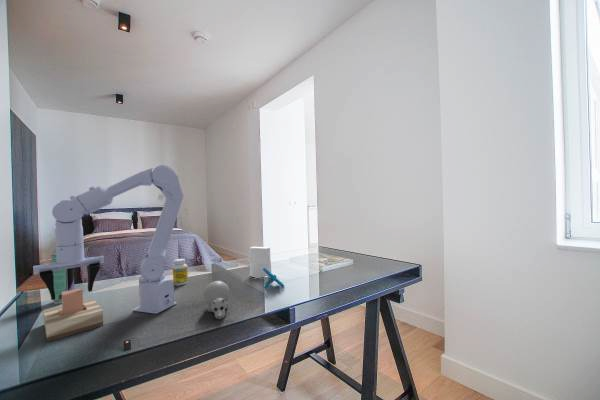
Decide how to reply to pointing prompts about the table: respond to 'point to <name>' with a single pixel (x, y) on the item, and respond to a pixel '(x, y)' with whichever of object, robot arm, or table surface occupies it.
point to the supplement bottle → (180, 272)
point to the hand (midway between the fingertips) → (72, 294)
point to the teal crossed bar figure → (271, 279)
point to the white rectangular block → (259, 261)
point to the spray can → (62, 280)
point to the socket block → (72, 320)
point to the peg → (72, 301)
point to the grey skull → (217, 298)
